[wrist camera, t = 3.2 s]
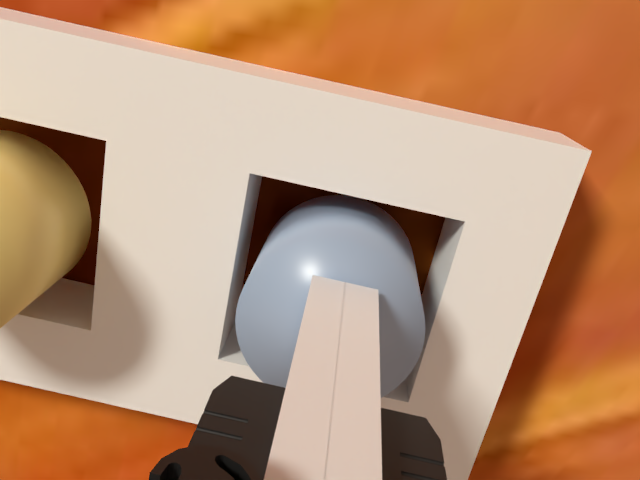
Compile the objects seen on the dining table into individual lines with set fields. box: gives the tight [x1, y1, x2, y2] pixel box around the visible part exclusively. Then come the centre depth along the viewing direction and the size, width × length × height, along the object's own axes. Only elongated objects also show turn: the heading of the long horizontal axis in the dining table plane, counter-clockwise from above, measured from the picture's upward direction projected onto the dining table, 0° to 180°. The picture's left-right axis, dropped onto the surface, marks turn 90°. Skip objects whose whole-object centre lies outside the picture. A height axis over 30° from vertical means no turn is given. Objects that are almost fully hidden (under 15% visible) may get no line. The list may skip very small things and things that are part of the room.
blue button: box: [235, 195, 426, 398], centre depth 15 cm, size 4×4×4 cm
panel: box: [0, 7, 592, 480], centre depth 17 cm, size 28×10×2 cm, turn 78°
